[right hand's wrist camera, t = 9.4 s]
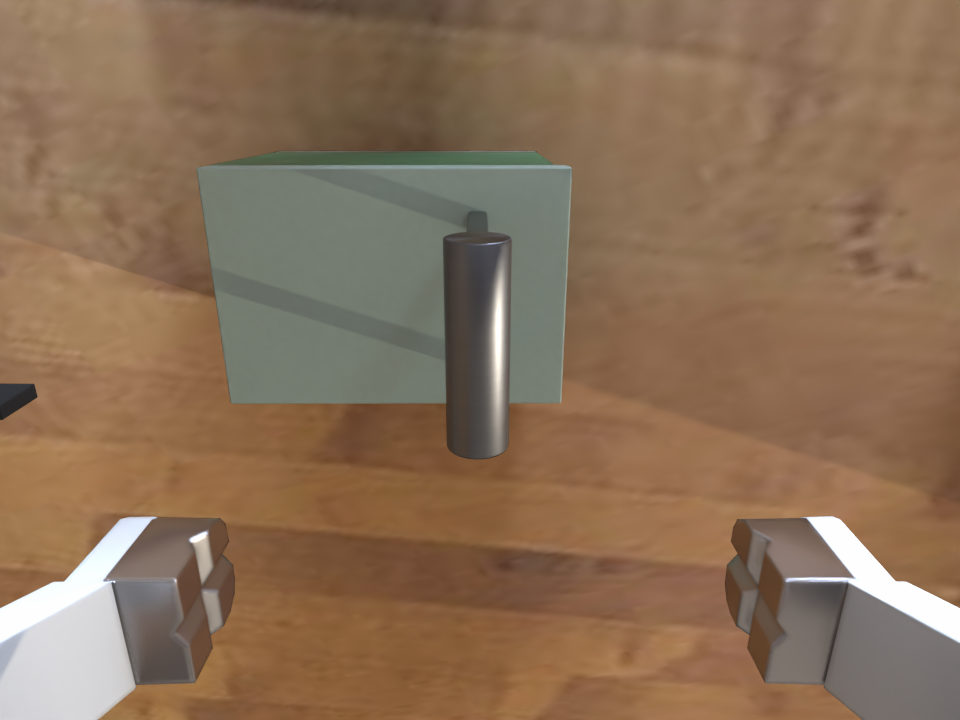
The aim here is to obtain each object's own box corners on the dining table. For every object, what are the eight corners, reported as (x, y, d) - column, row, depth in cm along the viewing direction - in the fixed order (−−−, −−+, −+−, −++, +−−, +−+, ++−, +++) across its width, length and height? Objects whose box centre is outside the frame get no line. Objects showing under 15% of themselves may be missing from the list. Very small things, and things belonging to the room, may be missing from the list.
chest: (535, 150, 34) (555, 164, 25) (530, 324, 38) (547, 392, 28) (280, 150, 34) (208, 164, 25) (297, 324, 38) (240, 392, 28)
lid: (568, 164, 25) (609, 188, 17) (558, 392, 28) (588, 500, 21) (207, 165, 25) (84, 189, 17) (239, 392, 28) (148, 501, 21)
